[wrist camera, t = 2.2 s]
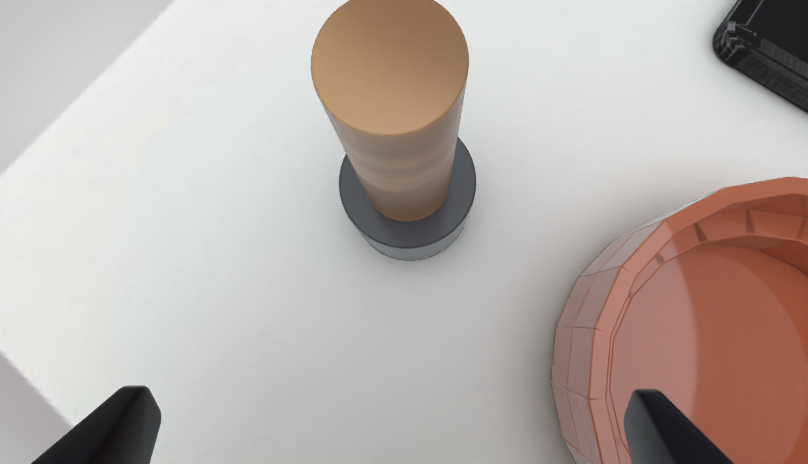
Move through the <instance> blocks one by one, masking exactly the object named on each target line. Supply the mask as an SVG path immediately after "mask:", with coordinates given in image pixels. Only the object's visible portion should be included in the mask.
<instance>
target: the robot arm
mask: <svg viewBox="0 0 808 464" xmlns="http://www.w3.org/2000/svg"><path fill="white" fill-rule="evenodd" d="M160 424H161V411H160V409H159V407H158V405H157V403H156V401H155V399H154V397H153V395H152V393H151V391H150V390H149V388H148V387H146V386H124V387H122V388H120V389H119V390H118V391H116V392H115V393H114V394H113V395H112V396H111V397H109V398H108V399H107V400H106V401H105V402H103V403H102V404H101V405H100V406H99V407H98V408H96V409H95V410H94V411H93V412H92V413H90V414H89V415H88V416H87V417H86V418H85V419H83V420H82V421H81V422H80V423H79V424H77V425H76V426H75V427H74V428H73V429H71V430H70V431H69V432H68V433H67V434H66V435H65V436H63V437H62V438H61V439H60V440H59V441H57V442H56V443H55V444H54V445H53V446H51V447H50V448H49V449H48V450H47V451H46V452H44V453H43V454H42V455H41V456H40V457H38V458H37V459H36V460H35V461H34V462H32V463H31V464H149V463H150V460H151V456H152V452H153V449H154V445H155V442H156V438H157V435H158V431H159V428H160ZM623 424H624V431H625V435H626V440H627V444H628V449H629V454H630V458H631V463H632V464H734V463H733V462H732V461H731V460H730V459H729V458H728V457H727V456H726V455H725V454H724V453H723V452H722V451H721V450H720V449H719V448H718V447H717V446H716V445H715V444H714V443H713V442H712V441H711V440H710V439H709V438H708V437H707V436H706V435H705V434H704V433H703V432H702V431H701V430H700V429H699V428H698V427H697V426H696V425H695V424H694V423H692V422H691V421H690V420H689V419H688V418H687V417H686V416H685V415H684V414H683V413H682V412H681V411H680V410H679V409H678V408H677V407H676V406H675V405H674V404H673V403H672V402H671V401H670V400H669V399H668V398H667V397H666V396H665V395H664V394H663V393H662V392H660V391H659V390H657V389H636V390H634V391H633V393H632V395H631V397H630V400H629V403H628V405H627V408H626V411H625V414H624V419H623Z"/></svg>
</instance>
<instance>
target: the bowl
mask: <svg viewBox="0 0 808 464" xmlns="http://www.w3.org/2000/svg"><path fill="white" fill-rule="evenodd" d="M551 380H552V382H551V384H552V389H553V394H554V399H555V403H556V408H557V413H558V418H559V423H560V427H561V432H562V436H563V437H564V441H565V443H566V445H567V447H568V448H569V450H570V452H571V454H572V456H573V458H574V460H575V461H576V463H577V464H632V463H631V458H630V454H629V449H628V444H627V440H626V435H625V431H624V424H623V419H624V414H625V411H626V408H627V405H628V403H629V400H630V397H631V395H632V393H633V391H634V390H636V389H657V390H659V391H660V392H662V393H663V394H664V395H665V396H666V397H667V398H668V399H669V400H670V401H671V402H672V403H673V404H674V405H675V406H676V407H677V408H678V409H679V410H680V411H681V412H682V413H683V414H684V415H685V416H686V417H687V418H688V419H689V420H690V421H691V422H692V423H694V424H695V425H696V426H697V427H698V428H699V429H700V430H701V431H702V432H703V433H704V434H705V435H706V436H707V437H708V438H709V439H710V440H711V441H712V442H713V443H714V444H715V445H716V446H717V447H718V448H719V449H720V450H721V451H722V452H723V453H724V454H725V455H726V456H727V457H728V458H729V459H730V460H731V461H732V462H733V463H734V464H808V179H806V178H798V177H784V178H778V179H772V180H766V181H760V182H754V183H748V184H743V185H737V186H731V187H725V188H722V189H719V190H717V191H715V192H712V193H710V194H708V195H706V196H703V197H701V198H699V199H697V200H694V201H692V202H690V203H687V204H685V205H683V206H681V207H678V208H676V209H674V210H672V211H669V212H667V213H665V214H663V215H660V216H658V217H656V218H654V219H652V220H650V221H648V222H647V223H645V224H643V225H641V226H639V227H637V228H635V229H633V230H631V231H629V232H628V233H626V234H624V235H622V236H620V237H618V238H616V239H614V241H612V242H611V243H610V244H609V245H608V246H607V247H606V248H605V249H604V250H603V252H602V253H601V254H600V255H599V256H598V257H597V258H596V259H595V260H594V261H593V262H592V263H591V264H590V265H589V266H588V267H587V269H586V270H585V271H584V272H583V273H582V274H581V275H580V276H579V278H578V279H577V281H576V283H575V286H574V288H573V290H572V292H571V294H570V297H569V299H568V301H567V303H566V306H565V308H564V310H563V312H562V314H561V317H560V319H559V321H558V323H557V327H556V334H555V344H554V354H553V364H552V374H551Z"/></svg>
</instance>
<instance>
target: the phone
mask: <svg viewBox="0 0 808 464" xmlns="http://www.w3.org/2000/svg"><path fill="white" fill-rule="evenodd" d="M713 44H714V47H715V51H716V52H717V54H718V55H719V57H720V58H722V59H723V60H724V61H725V62H727V63H728V64H730V65H732V66H733V67H735V68H737V69H738V70H740V71H742V72H743V73H745V74H747V75H748V76H750V77H751V78H753V79H755V80H756V81H758V82H760V83H761V84H763V85H765V86H766V87H768V88H770V89H771V90H773V91H775V92H776V93H778V94H780V95H781V96H783V97H785V98H786V99H788V100H790V101H791V102H793V103H795V104H796V105H798V106H800V107H801V108H803V109H804V110H806V111H808V0H738V1H737V2H736V3H735V5H734V6H733V8H732V9H731V11H730V12H729V13H728V15H727V16H726V18H725V19H724V21H723V22H722V23H721V25H720V26H719V28H718V29H717V31H716V33H715V35H714V43H713Z"/></svg>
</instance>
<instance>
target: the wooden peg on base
mask: <svg viewBox="0 0 808 464" xmlns="http://www.w3.org/2000/svg"><path fill="white" fill-rule="evenodd" d="M468 67H469V54H468V47H467V43H466V40H465V37H464V34H463V32H462V30H461V28H460V26H459V25H458V23H457V22H456V20H455V19H454V18H453V17H452V15H451V14H450V13H449V12H448V11H447V10H446V9H445V8H444V7H442V6H441V5H440V4H438V3H437V2H435V1H434V0H349V1H348V2H346V3H345V4H343V5H342V6H341V7H339V8H338V9H337V10H336V11H335V12H334V13H333V14H332V15H331V16H330V17H329V18H328V19H327V21H326V22H325V23H324V25H323V26H322V28H321V29H320V31H319V34H318V36H317V38H316V40H315V43H314V46H313V51H312V56H311V74H312V80H313V84H314V87H315V90H316V92H317V95H318V97H319V99H320V101H321V103H322V105H323V107H324V109H325V111H326V113H327V115H328V117H329V119H330V121H331V123H332V125H333V127H334V129H335V131H336V133H337V135H338V137H339V139H340V141H341V143H342V145H343V147H344V149H345V152H346V155H345V157H344V160H343V163H342V166H341V170H340V176H339V190H340V197H341V201H342V204H343V207H344V209H345V211H346V213H347V215H348V217H349V219H350V220H351V221H352V223H353V224H354V225H355V226H356V228H357V229H358V230H359V232H360V233H361V234H362V235H363V237H364V238H365V239H366V240H367V242H368V243H369V244H370V245H371V246H372V247H374V248H375V249H376V250H378V251H379V252H381V253H383V254H384V255H387V256H389V257H392V258H395V259H399V260H422V259H425V258H429V257H432V256H434V255H436V254H438V253H440V252H442V251H443V250H445V249H446V248H447V247H448V246H450V245H451V244H452V243H453V242H454V240H455V239H456V238H457V237H458V235H459V234H460V232H461V230H462V228H463V226H464V223H465V221H466V218H467V216H468V213H469V211H470V208H471V206H472V203H473V200H474V196H475V190H476V173H475V167H474V164H473V160H472V158H471V156H470V153H469V151H468V150H467V148H466V146H465V145H464V143H463V142H462V141H461V140H460V139H459V137H458V130H459V124H460V118H461V112H462V106H463V99H464V93H465V87H466V81H467V75H468Z"/></svg>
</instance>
